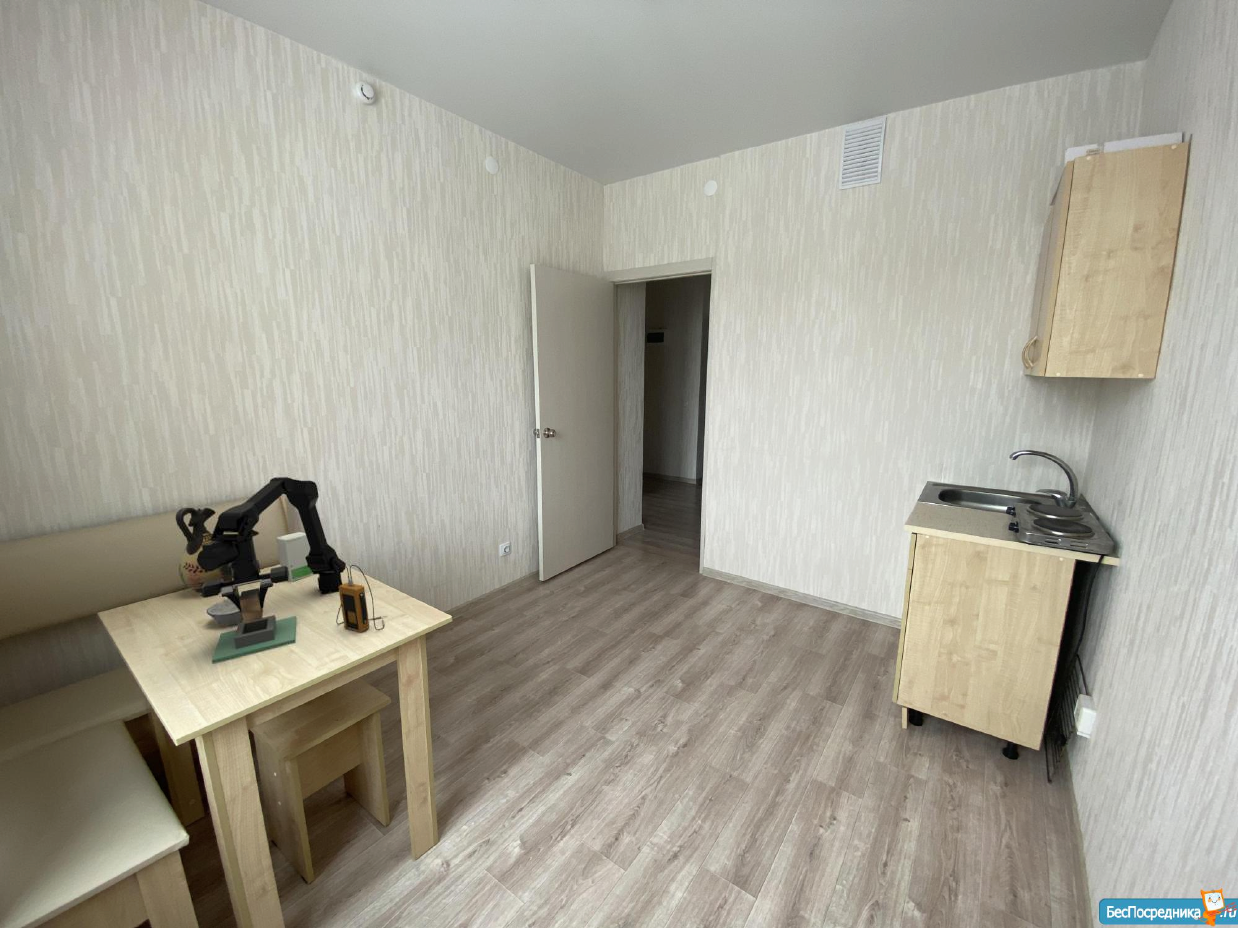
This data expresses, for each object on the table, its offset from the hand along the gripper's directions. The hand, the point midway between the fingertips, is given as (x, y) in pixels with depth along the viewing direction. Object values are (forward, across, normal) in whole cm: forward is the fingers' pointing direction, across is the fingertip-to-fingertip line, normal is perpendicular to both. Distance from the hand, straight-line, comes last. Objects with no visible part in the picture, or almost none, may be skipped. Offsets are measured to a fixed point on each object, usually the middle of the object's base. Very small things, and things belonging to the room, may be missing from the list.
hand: (252, 610), depth 140 cm
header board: (+9, 0, 0) cm, 9 cm away
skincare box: (+9, -9, -46) cm, 48 cm away
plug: (+2, 0, 0) cm, 2 cm away
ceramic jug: (+9, +17, -50) cm, 53 cm away
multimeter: (+9, -27, +7) cm, 29 cm away
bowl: (+9, +7, -19) cm, 22 cm away
